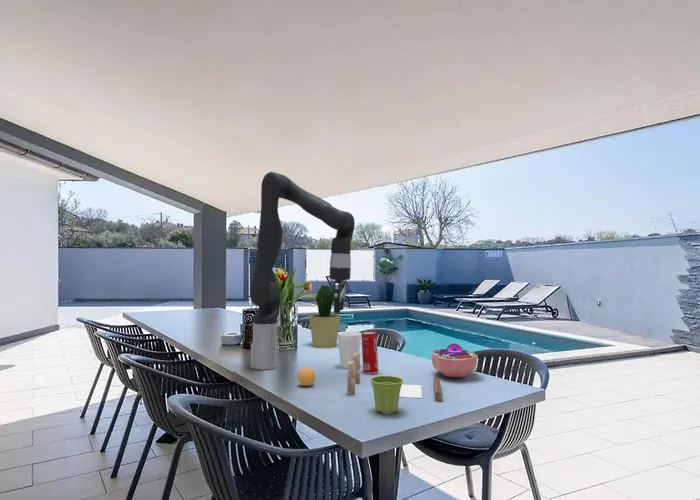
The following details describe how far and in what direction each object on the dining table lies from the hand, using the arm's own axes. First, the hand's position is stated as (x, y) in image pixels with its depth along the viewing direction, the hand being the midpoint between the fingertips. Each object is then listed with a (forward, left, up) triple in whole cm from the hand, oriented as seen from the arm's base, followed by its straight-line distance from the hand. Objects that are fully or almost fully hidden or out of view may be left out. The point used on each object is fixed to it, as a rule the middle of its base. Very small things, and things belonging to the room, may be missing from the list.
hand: (338, 311), depth 166 cm
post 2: (+8, -6, -24) cm, 26 cm away
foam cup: (+2, +17, -24) cm, 29 cm away
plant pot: (+20, -33, -24) cm, 45 cm away
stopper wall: (+35, -13, -24) cm, 44 cm away
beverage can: (+11, +9, -24) cm, 28 cm away
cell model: (+42, +10, -24) cm, 49 cm away
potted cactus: (-16, +57, -24) cm, 64 cm away
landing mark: (+23, -13, -24) cm, 35 cm away
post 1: (+8, -19, -24) cm, 31 cm away
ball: (-8, -13, -21) cm, 26 cm away
